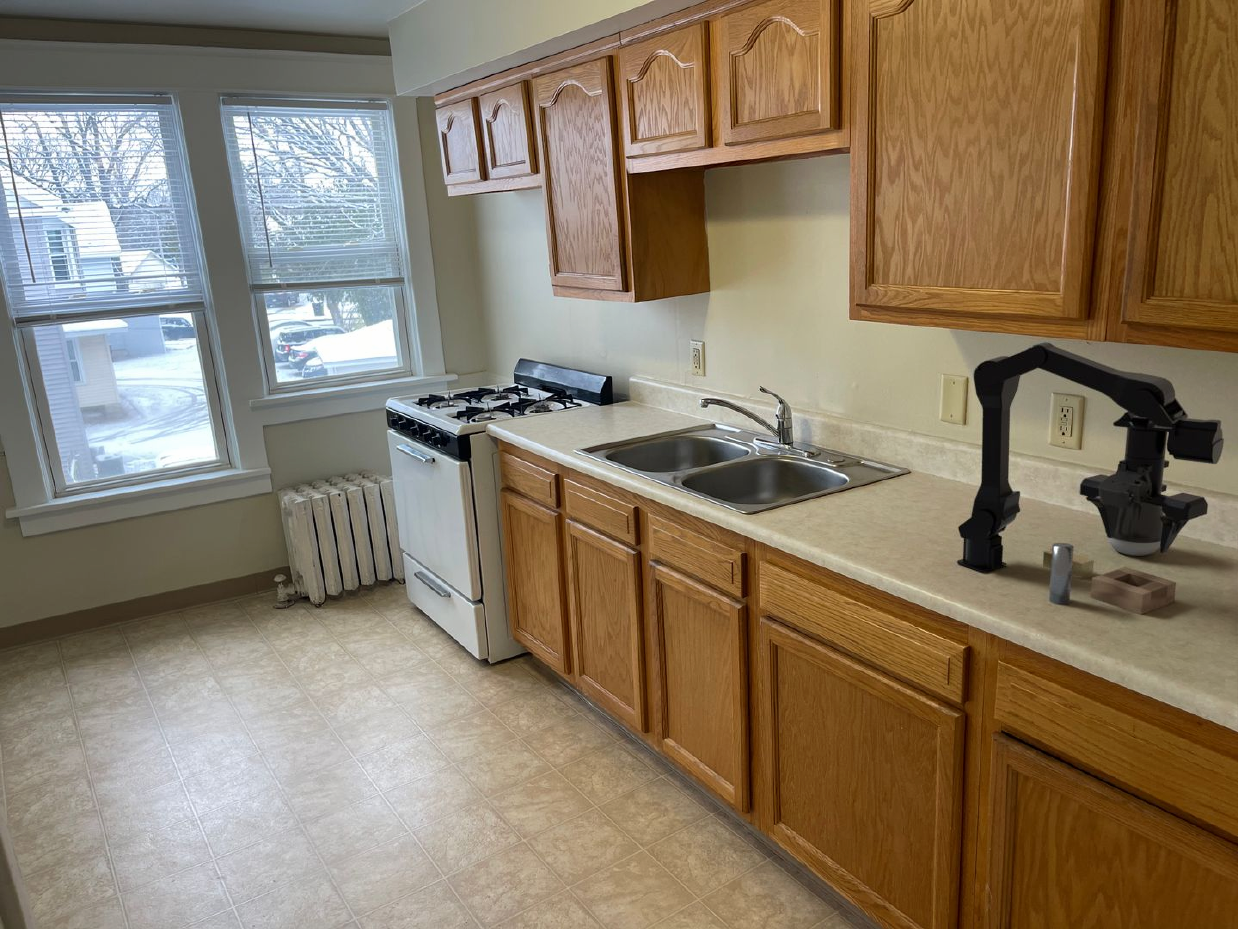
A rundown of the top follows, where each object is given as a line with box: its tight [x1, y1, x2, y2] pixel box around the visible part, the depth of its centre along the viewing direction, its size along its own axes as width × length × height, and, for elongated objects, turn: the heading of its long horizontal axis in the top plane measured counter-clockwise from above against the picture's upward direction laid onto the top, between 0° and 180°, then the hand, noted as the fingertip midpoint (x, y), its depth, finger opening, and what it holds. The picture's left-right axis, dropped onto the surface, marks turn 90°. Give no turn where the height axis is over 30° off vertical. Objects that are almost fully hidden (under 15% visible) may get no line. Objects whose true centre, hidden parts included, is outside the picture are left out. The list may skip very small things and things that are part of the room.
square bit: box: [1042, 548, 1095, 580], centre depth 170 cm, size 8×3×3 cm, turn 28°
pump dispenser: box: [1104, 497, 1165, 557], centre depth 175 cm, size 10×10×15 cm
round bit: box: [1048, 542, 1075, 606], centre depth 156 cm, size 3×3×10 cm
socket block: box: [1090, 566, 1177, 615], centre depth 156 cm, size 9×9×4 cm
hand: (1136, 545), depth 154 cm, fingers open, 9 cm apart
